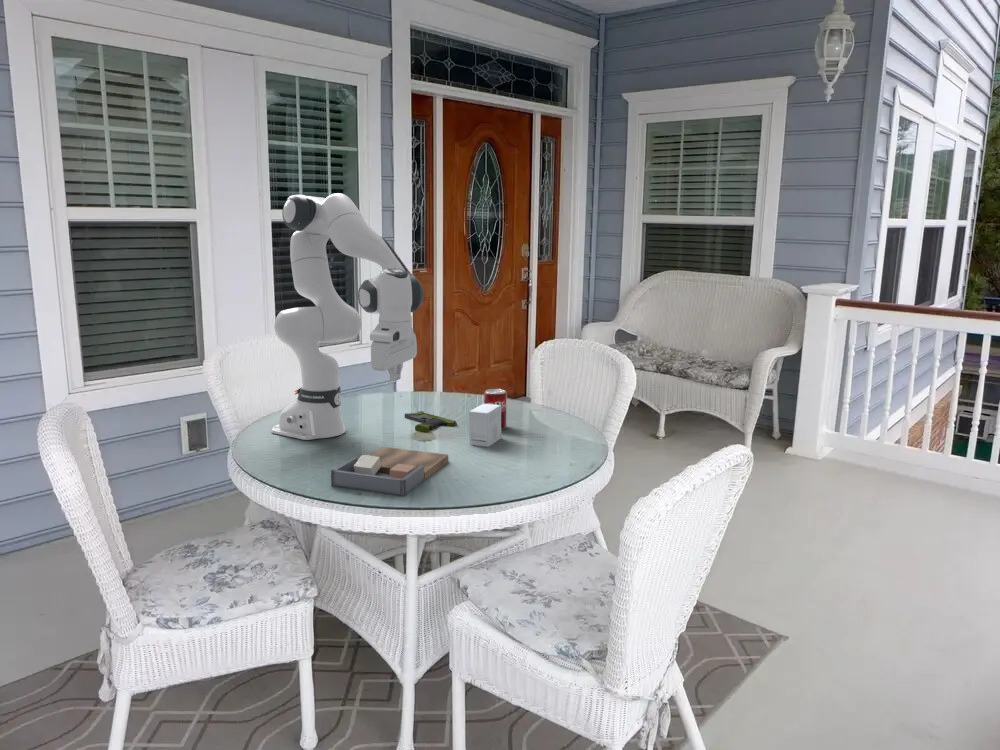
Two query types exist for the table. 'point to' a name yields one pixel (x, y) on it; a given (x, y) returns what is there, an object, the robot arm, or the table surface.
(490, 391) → the soda can
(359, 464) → the cream tile
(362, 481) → the bin
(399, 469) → the terracotta tile
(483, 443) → the skincare box
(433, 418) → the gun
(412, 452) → the walnut board
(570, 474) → the table surface
